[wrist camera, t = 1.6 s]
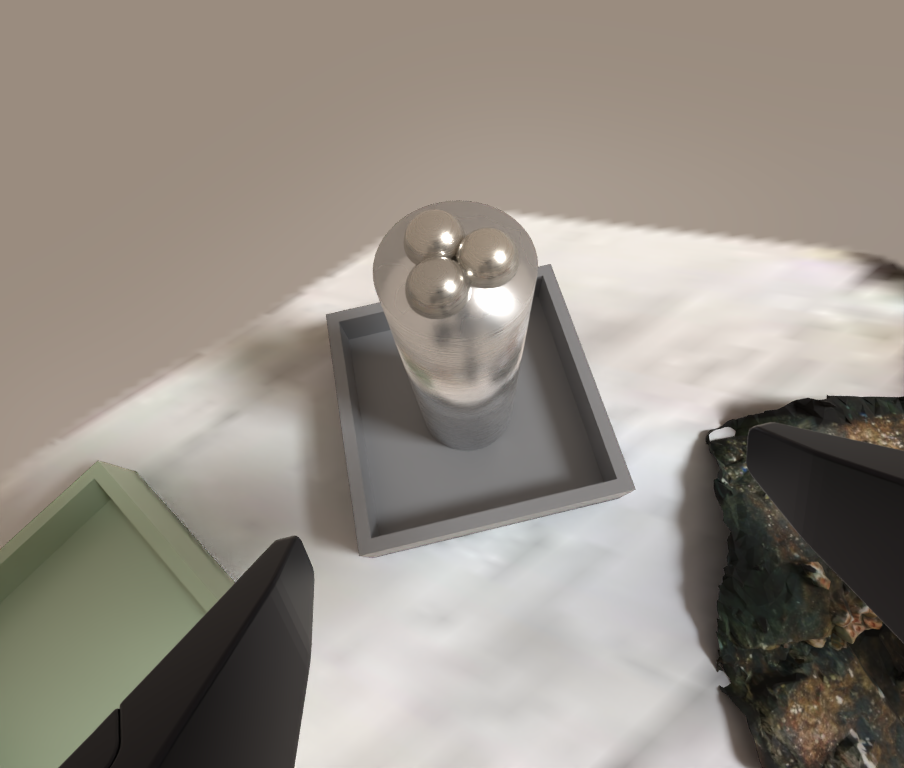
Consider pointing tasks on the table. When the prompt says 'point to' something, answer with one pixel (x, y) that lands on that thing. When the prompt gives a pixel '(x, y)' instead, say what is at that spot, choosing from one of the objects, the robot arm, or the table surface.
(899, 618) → the robot arm
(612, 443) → the tray
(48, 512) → the tray
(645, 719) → the table surface
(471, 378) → the pebble canister
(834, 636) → the decorative rock
